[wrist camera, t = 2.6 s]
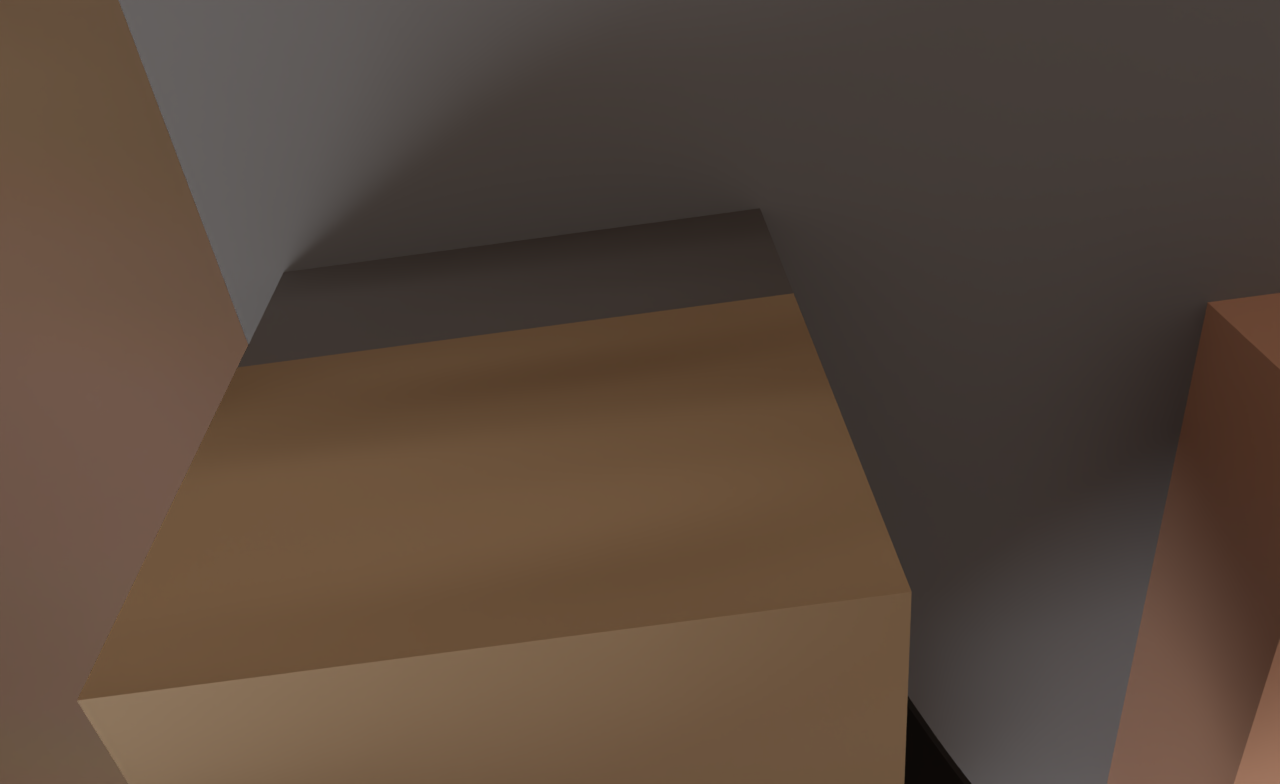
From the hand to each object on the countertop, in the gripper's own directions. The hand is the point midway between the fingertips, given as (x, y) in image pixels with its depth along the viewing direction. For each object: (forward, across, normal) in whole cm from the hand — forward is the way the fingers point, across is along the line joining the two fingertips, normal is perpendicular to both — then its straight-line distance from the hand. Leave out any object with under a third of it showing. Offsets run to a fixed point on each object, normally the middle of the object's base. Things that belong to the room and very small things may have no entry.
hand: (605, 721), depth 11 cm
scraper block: (+1, 0, 0) cm, 1 cm away
